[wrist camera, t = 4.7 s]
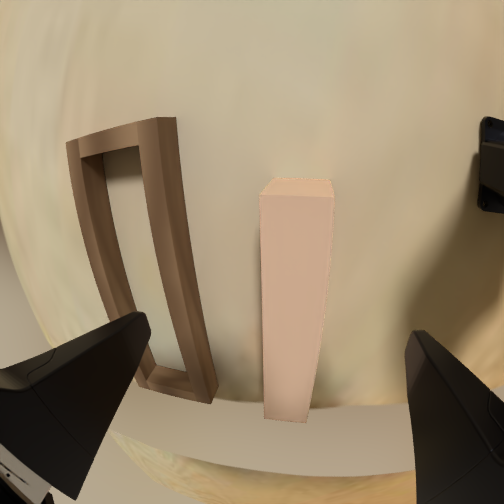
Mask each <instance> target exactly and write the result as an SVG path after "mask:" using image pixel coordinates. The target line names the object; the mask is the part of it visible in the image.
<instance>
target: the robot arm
mask: <svg viewBox="0 0 504 504" xmlns="http://www.w3.org/2000/svg"><path fill="white" fill-rule="evenodd" d="M488 121H489V122H490V126H488ZM479 180H480V186H479V195H478V207H479V208H480V209H481V210H483V211H487V212H495V213H503V214H504V121H503V120H499V119H496V118H493V117H484V118H483V119H482V145H481V163H480V177H479ZM484 201H485V205H484V206H483V202H484ZM150 336H151V329H150V326H149V323H148V320H147V317H146V314H145V313H143V312H139V311H133V312H131V313H129V314H127V315H124V316H122V317H120V318H118V319H116V320H114V321H112V322H110V323H107V324H105V325H103V326H101V327H99V328H97V329H95V330H92V331H90V332H88V333H86V334H84V335H82V336H79V337H77V338H75V339H73V340H71V341H69V342H67V343H64V344H62V345H60V346H58V347H57V348H54V349H51V350H49V351H47V352H45V353H43V354H40V355H38V356H35V357H33V358H31V359H28V360H26V361H23V362H20V363H17V364H15V365H12V366H9V367H6V368H3V369H0V504H54V501H53V497H52V494H50V493H49V492H48V491H49V490H50V488H51V486H53V487H55V488H56V489H58V490H59V491H61V492H62V493H64V494H65V495H67V496H68V497H70V498H72V499H73V500H76V499H77V497H78V495H79V493H80V490H81V488H82V486H83V483H84V481H85V479H86V476H87V474H88V472H89V469H90V467H91V465H92V463H93V460H94V457H95V456H96V454H97V451H98V449H99V447H100V445H101V443H102V440H103V438H104V436H105V434H106V432H107V430H108V428H109V426H110V424H111V421H112V419H113V417H114V415H115V413H116V411H117V409H118V407H119V405H120V403H121V401H122V399H123V397H124V395H125V393H126V391H127V389H128V387H129V385H130V383H131V381H132V379H133V377H134V375H135V373H136V371H137V369H138V367H139V364H140V362H141V359H142V357H143V354H144V351H145V349H146V346H147V344H148V341H149V339H150ZM405 366H406V381H407V397H408V404H409V411H410V418H411V425H412V434H413V443H414V453H415V469H416V495H417V504H504V402H503V401H502V400H501V399H500V398H499V397H497V396H496V395H495V394H494V393H493V392H492V391H490V389H489V388H488V387H487V386H486V385H485V384H484V383H483V382H482V381H481V380H480V379H479V378H477V377H476V376H475V375H474V374H473V373H472V372H471V371H470V370H469V369H468V368H467V367H466V366H464V365H463V364H462V363H461V362H460V361H459V360H458V359H457V358H456V357H454V356H453V355H452V354H451V353H450V352H449V351H448V350H447V349H445V348H444V347H443V346H442V345H441V344H440V343H439V342H438V341H436V340H435V339H434V338H433V337H432V336H431V335H429V334H428V333H427V332H426V331H425V330H413V331H412V332H411V334H410V337H409V340H408V343H407V346H406V349H405Z"/></svg>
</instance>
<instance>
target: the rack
mask: <svg viewBox="0 0 504 504" xmlns="http://www.w3.org/2000/svg"><path fill="white" fill-rule="evenodd" d="M137 145H139V152H140V160H141V168H142V176H143V183H144V190H145V196H146V203H147V209H148V215H149V220H150V226H151V231H152V237H153V242H154V247H155V252H156V256H157V261H158V266H159V270H160V275H161V279H162V283H163V288H164V292H165V296H166V300H167V304H168V308H169V312H170V316H171V319H172V323H173V327H174V330H175V334H176V337H177V341H178V344H179V348H180V351H181V354H182V358H183V361H184V364H185V367H186V370H187V372H184V371H180V370H175V369H170V368H166V367H161V366H157V365H156V363H155V361H154V358H153V356H152V353H151V350H150V348H149V345H148V344H147V346H146V349H145V351H144V354H143V357H142V359H141V362H140V364H139V367H138V369H137V371H136V373H135V375H134V377H135V379H136V381H137V383H138V385H139V387H142V388H146V389H149V390H153V391H157V392H160V393H164V394H168V395H171V396H175V397H180V398H184V399H188V400H192V401H197V402H202V403H207V404H211V403H212V400H213V398H214V396H215V393H216V391H217V388H218V383H217V379H216V374H215V370H214V365H213V361H212V356H211V352H210V347H209V342H208V337H207V333H206V328H205V323H204V318H203V312H202V307H201V302H200V296H199V291H198V285H197V279H196V274H195V268H194V262H193V255H192V249H191V243H190V236H189V229H188V222H187V215H186V208H185V200H184V192H183V184H182V175H181V166H180V157H179V147H178V136H177V125H176V117H156V118H151V119H146V120H142V121H138V122H133V123H129V124H125V125H121V126H118V127H114V128H110V129H107V130H103V131H100V132H96V133H93V134H90V135H87V136H84V137H80V138H77V139H74V140H71V141H69V142H66V149H67V157H68V164H69V171H70V177H71V183H72V189H73V195H74V200H75V205H76V210H77V214H78V219H79V223H80V227H81V231H82V235H83V239H84V243H85V247H86V251H87V254H88V258H89V261H90V265H91V268H92V271H93V274H94V278H95V281H96V284H97V287H98V290H99V293H100V296H101V299H102V301H103V304H104V307H105V310H106V312H107V315H108V318H109V320H110V322H112V321H114V320H116V319H118V318H120V317H122V316H124V315H127V314H129V313H131V312H133V311H137V310H136V307H135V304H134V300H133V297H132V294H131V291H130V287H129V284H128V280H127V277H126V273H125V269H124V265H123V262H122V258H121V254H120V250H119V246H118V241H117V237H116V233H115V228H114V223H113V218H112V214H111V208H110V203H109V198H108V192H107V186H106V180H105V173H104V166H103V159H102V153H104V152H108V151H112V150H117V149H122V148H127V147H132V146H137Z"/></svg>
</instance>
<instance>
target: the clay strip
mask: <svg viewBox="0 0 504 504" xmlns="http://www.w3.org/2000/svg"><path fill="white" fill-rule="evenodd" d="M334 206H335V196H334V192H333V189H332V185H331V181H330V180H326V179H301V178H273V179H272V180H271V182H270V183H269V184H268V185H267V186H266V187H265V188H264V190H263V191H262V192H261V193H260V194H259V208H260V242H261V280H262V323H263V376H264V418H265V419H272V420H281V421H290V422H301V423H306V421H307V417H308V412H309V407H310V402H311V397H312V392H313V387H314V381H315V376H316V370H317V364H318V358H319V352H320V345H321V339H322V332H323V324H324V317H325V309H326V301H327V292H328V283H329V273H330V263H331V251H332V238H333V224H334Z"/></svg>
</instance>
